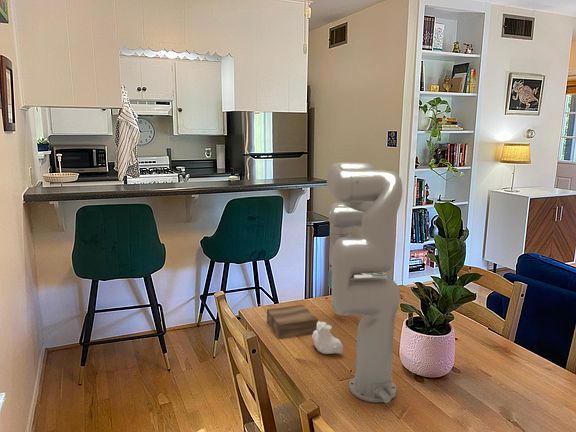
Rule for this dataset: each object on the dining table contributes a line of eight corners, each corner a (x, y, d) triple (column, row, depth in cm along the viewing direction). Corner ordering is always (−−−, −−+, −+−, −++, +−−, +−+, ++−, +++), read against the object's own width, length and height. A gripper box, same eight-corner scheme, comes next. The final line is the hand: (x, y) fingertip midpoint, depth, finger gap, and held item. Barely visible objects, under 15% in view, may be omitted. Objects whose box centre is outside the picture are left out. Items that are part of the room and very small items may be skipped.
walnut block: (317, 332, 158) (317, 319, 158) (279, 338, 154) (279, 324, 153) (302, 317, 171) (302, 304, 170) (266, 322, 167) (266, 309, 166)
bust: (311, 351, 150) (296, 332, 144) (324, 332, 153) (310, 313, 147) (339, 365, 142) (325, 345, 135) (352, 345, 145) (338, 324, 138)
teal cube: (349, 289, 166) (350, 273, 165) (334, 291, 164) (335, 275, 163) (342, 284, 172) (342, 269, 171) (327, 286, 170) (328, 270, 169)
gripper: (361, 241, 158) (359, 291, 161) (338, 232, 174) (337, 277, 177) (341, 243, 156) (340, 293, 159) (320, 233, 172) (319, 279, 175)
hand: (338, 284), depth 168 cm, fingers closed on teal cube, 6 cm apart
